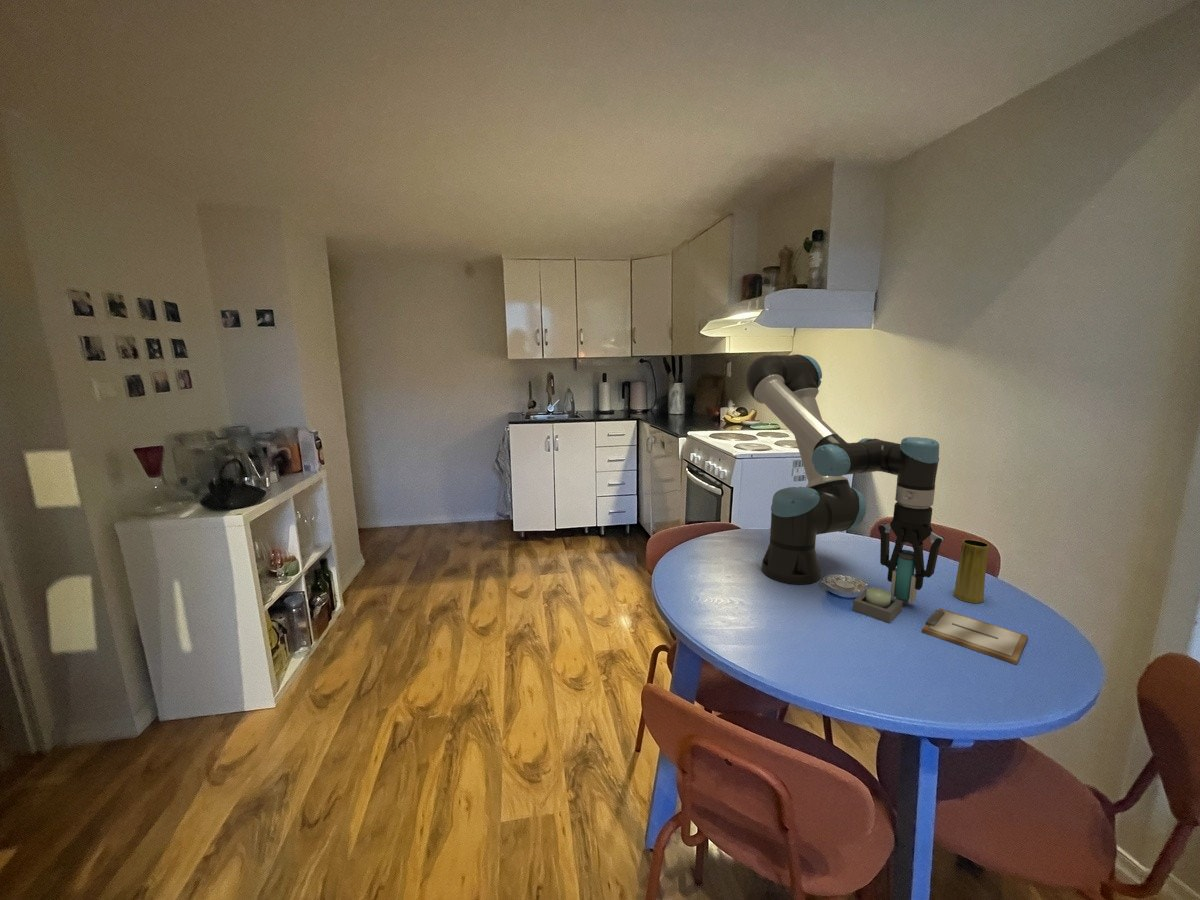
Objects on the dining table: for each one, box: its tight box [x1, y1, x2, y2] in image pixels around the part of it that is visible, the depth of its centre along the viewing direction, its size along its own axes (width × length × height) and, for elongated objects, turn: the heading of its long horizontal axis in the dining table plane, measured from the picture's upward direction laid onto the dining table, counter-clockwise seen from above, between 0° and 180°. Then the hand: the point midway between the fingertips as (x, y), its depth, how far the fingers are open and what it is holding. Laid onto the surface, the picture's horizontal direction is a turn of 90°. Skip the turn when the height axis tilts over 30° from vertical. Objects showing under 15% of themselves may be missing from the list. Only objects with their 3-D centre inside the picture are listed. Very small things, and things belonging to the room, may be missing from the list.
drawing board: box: [921, 607, 1029, 666], centre depth 106 cm, size 16×13×1 cm
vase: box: [952, 538, 990, 604], centre depth 121 cm, size 6×6×14 cm
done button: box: [866, 586, 891, 609], centre depth 116 cm, size 5×5×3 cm
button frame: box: [852, 589, 903, 624], centre depth 117 cm, size 8×8×2 cm
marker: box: [894, 549, 915, 607], centre depth 119 cm, size 4×4×13 cm
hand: (902, 597), depth 120 cm, fingers closed on marker, 3 cm apart
